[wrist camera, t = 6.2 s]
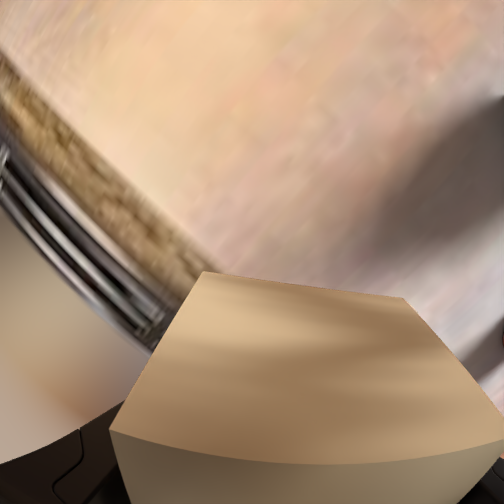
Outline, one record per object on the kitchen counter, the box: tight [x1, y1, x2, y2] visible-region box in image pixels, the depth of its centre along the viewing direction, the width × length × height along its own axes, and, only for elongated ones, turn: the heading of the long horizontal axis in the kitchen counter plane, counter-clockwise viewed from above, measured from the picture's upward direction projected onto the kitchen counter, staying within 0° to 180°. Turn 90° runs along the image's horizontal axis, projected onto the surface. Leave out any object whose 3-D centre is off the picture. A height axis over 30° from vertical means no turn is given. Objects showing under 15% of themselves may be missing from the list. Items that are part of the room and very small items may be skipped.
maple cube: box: [109, 271, 504, 504], centre depth 6 cm, size 6×6×6 cm
